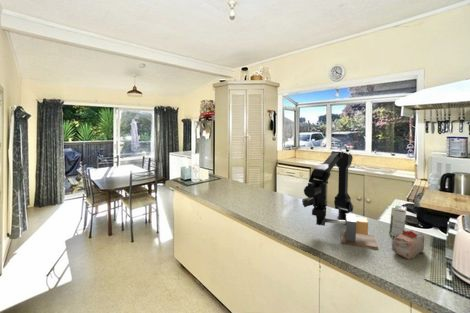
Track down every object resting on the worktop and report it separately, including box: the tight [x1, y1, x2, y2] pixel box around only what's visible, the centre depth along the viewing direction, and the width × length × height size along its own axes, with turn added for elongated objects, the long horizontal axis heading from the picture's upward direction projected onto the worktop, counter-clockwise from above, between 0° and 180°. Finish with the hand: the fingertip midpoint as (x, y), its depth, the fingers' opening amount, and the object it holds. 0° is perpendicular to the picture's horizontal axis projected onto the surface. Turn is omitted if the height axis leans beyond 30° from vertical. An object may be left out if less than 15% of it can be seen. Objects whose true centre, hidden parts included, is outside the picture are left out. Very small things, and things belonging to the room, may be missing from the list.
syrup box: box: [388, 204, 408, 237], centre depth 119 cm, size 6×6×14 cm
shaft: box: [315, 216, 346, 226], centre depth 117 cm, size 4×20×4 cm, turn 67°
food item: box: [391, 229, 425, 260], centre depth 103 cm, size 14×8×10 cm, turn 121°
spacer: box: [355, 216, 369, 235], centre depth 114 cm, size 6×5×6 cm
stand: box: [340, 213, 379, 250], centre depth 114 cm, size 12×15×11 cm
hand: (319, 223), depth 121 cm, fingers closed on shaft, 4 cm apart
